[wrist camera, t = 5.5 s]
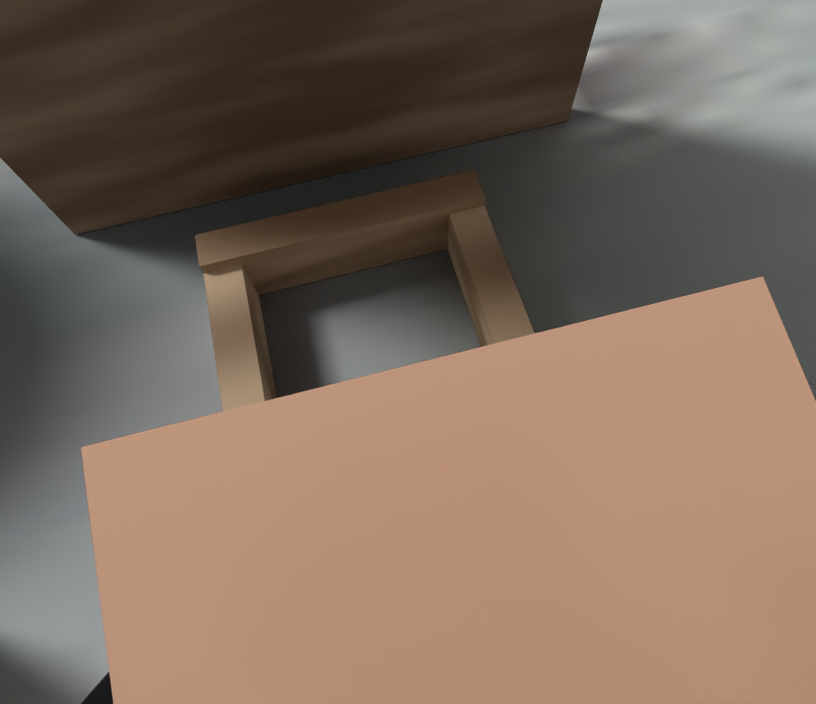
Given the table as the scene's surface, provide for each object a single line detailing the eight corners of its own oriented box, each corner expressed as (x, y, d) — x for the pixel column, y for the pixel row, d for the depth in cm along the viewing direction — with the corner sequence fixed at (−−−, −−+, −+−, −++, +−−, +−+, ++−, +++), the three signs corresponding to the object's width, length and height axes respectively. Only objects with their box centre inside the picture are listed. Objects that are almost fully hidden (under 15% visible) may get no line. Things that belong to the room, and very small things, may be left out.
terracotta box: (565, 645, 16) (1163, 1220, 3) (367, 703, 15) (225, 1587, 3) (501, 429, 17) (762, 275, 5) (318, 477, 16) (81, 447, 4)
